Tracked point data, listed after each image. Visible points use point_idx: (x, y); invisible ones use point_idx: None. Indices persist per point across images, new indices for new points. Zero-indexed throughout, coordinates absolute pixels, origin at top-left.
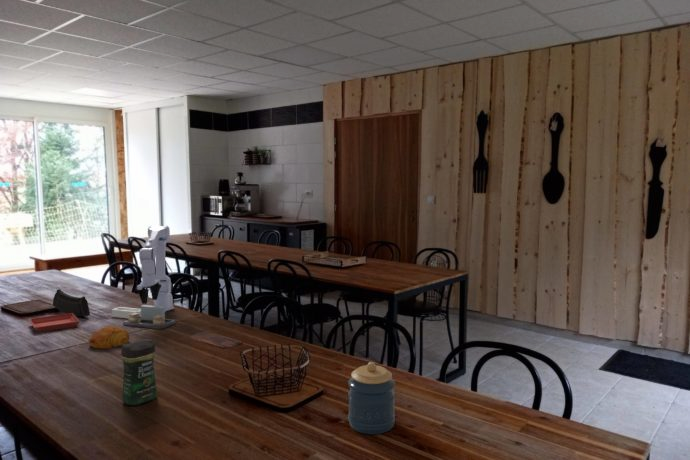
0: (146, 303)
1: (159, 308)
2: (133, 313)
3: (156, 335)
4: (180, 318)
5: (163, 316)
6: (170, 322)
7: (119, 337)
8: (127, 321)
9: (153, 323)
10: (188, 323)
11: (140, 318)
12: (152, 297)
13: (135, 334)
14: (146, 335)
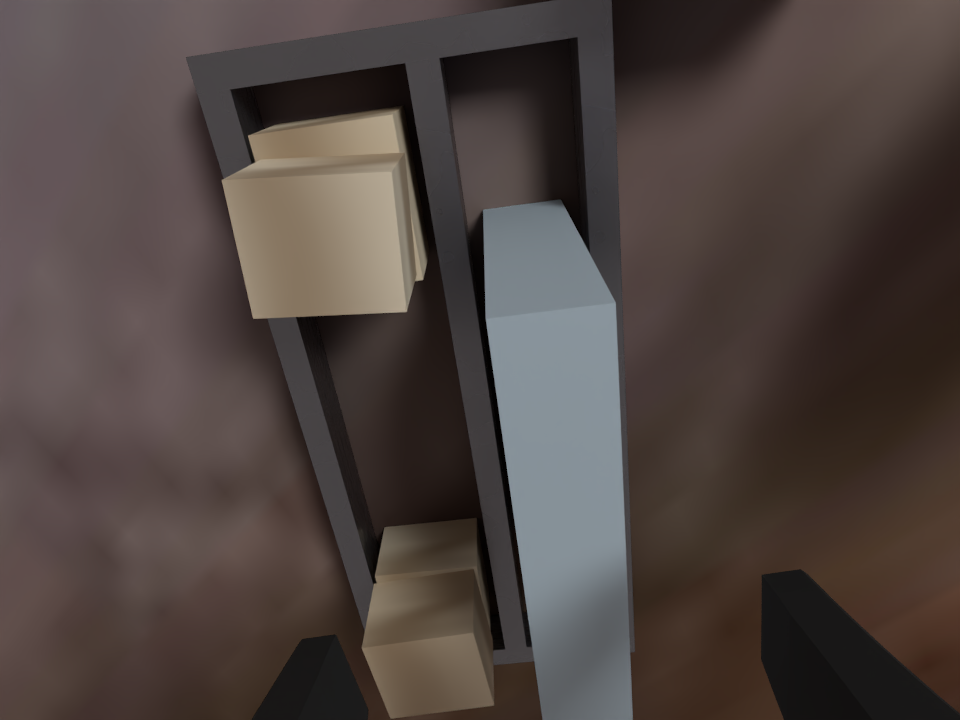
0: (356, 714)
1: (542, 710)
2: (326, 206)
3: (222, 715)
4: (834, 538)
5: (483, 700)
6: None
7: None
8: (240, 131)
9: (379, 574)
10: (671, 707)
11: (577, 90)
12: (794, 628)
13: (95, 554)
14: (158, 654)
